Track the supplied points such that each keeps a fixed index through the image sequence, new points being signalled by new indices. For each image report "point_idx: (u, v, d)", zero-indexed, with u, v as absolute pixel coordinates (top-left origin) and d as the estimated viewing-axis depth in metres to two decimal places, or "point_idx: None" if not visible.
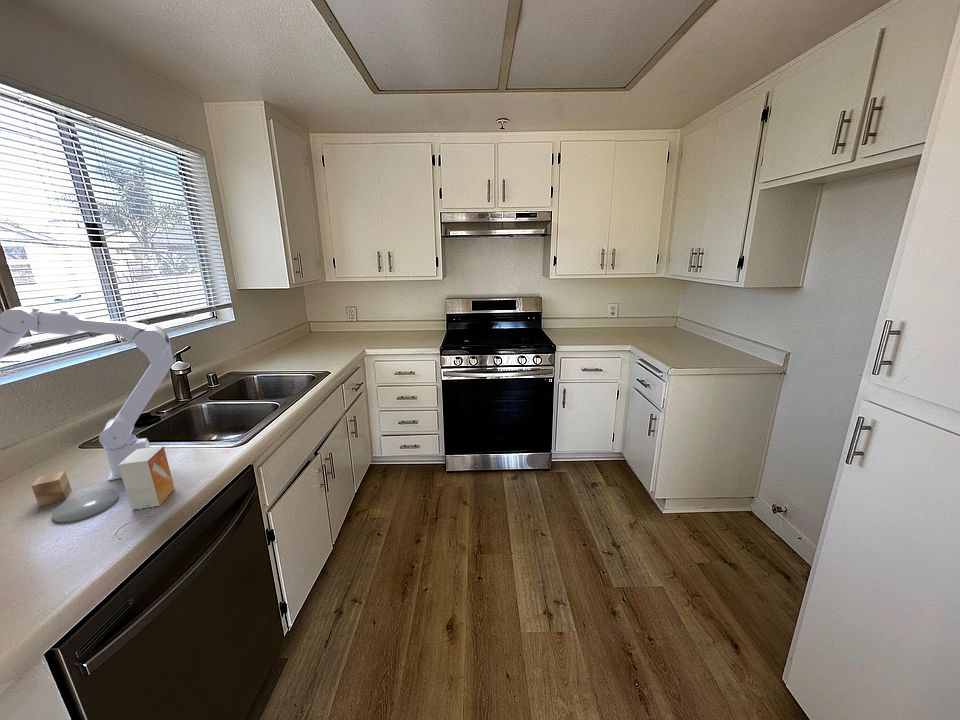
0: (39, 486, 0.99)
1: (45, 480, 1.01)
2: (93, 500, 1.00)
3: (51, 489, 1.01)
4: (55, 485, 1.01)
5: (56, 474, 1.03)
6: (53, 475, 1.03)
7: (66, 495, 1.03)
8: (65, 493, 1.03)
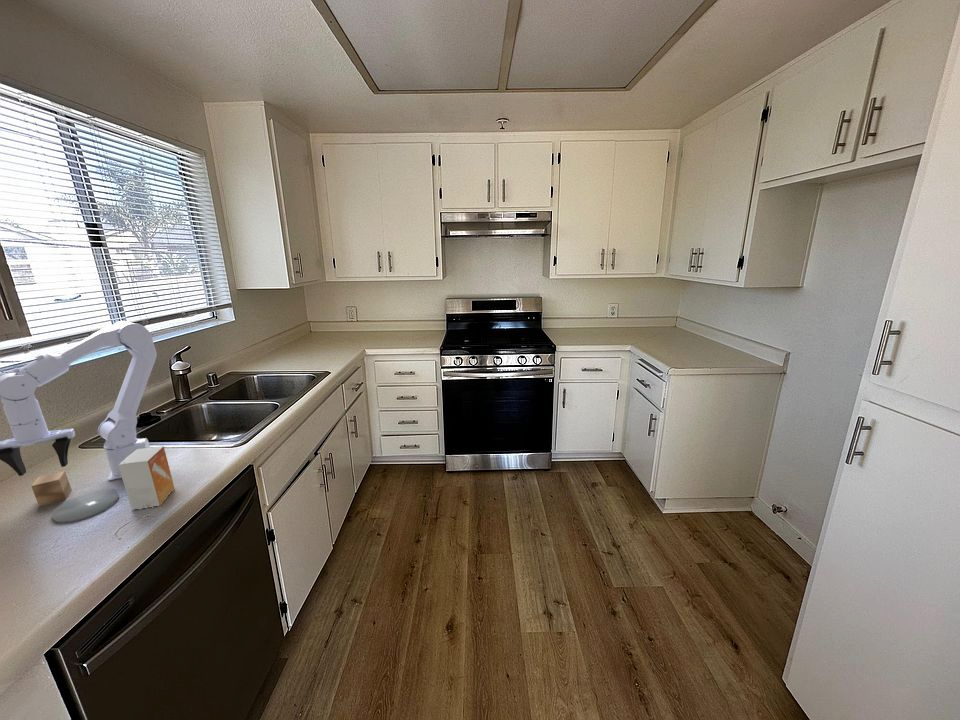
0: (38, 486, 0.99)
1: (45, 480, 1.01)
2: (93, 500, 1.00)
3: (51, 489, 1.01)
4: (55, 485, 1.01)
5: (56, 474, 1.03)
6: (53, 475, 1.03)
7: (66, 495, 1.03)
8: (65, 493, 1.03)
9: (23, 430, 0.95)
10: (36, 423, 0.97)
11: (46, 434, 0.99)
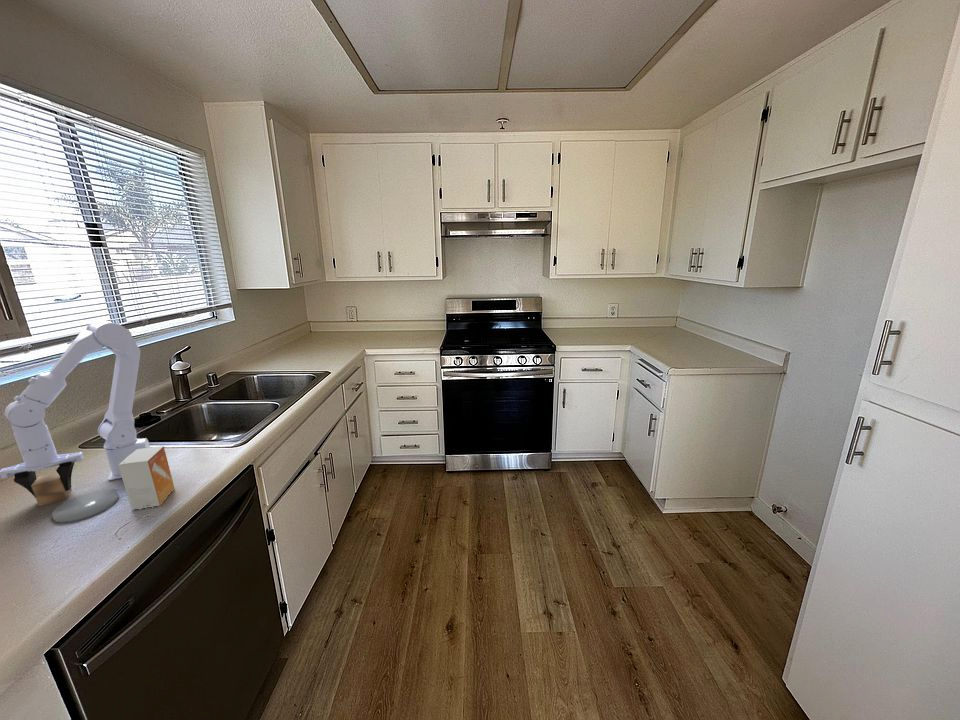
0: (38, 485, 0.99)
1: (45, 480, 1.01)
2: (93, 500, 1.00)
3: (51, 488, 1.01)
4: (55, 485, 1.01)
5: (56, 474, 1.03)
6: (53, 475, 1.03)
7: (66, 495, 1.03)
8: (65, 492, 1.03)
9: (33, 455, 0.97)
10: (46, 448, 0.99)
11: (55, 458, 1.01)
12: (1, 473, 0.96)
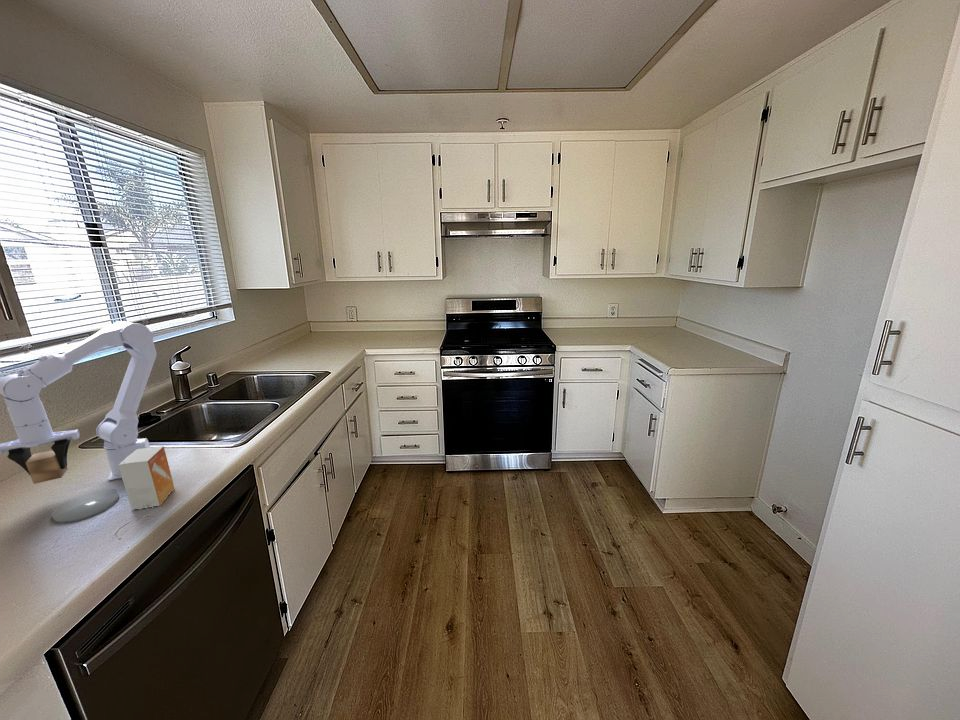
0: (33, 462, 0.97)
1: (40, 457, 0.98)
2: (93, 500, 1.00)
3: (46, 466, 0.98)
4: (50, 463, 0.99)
5: (51, 452, 1.01)
6: (48, 452, 1.01)
7: (61, 473, 1.01)
8: (60, 471, 1.01)
9: (27, 431, 0.95)
10: (40, 424, 0.97)
11: (51, 435, 0.99)
12: None
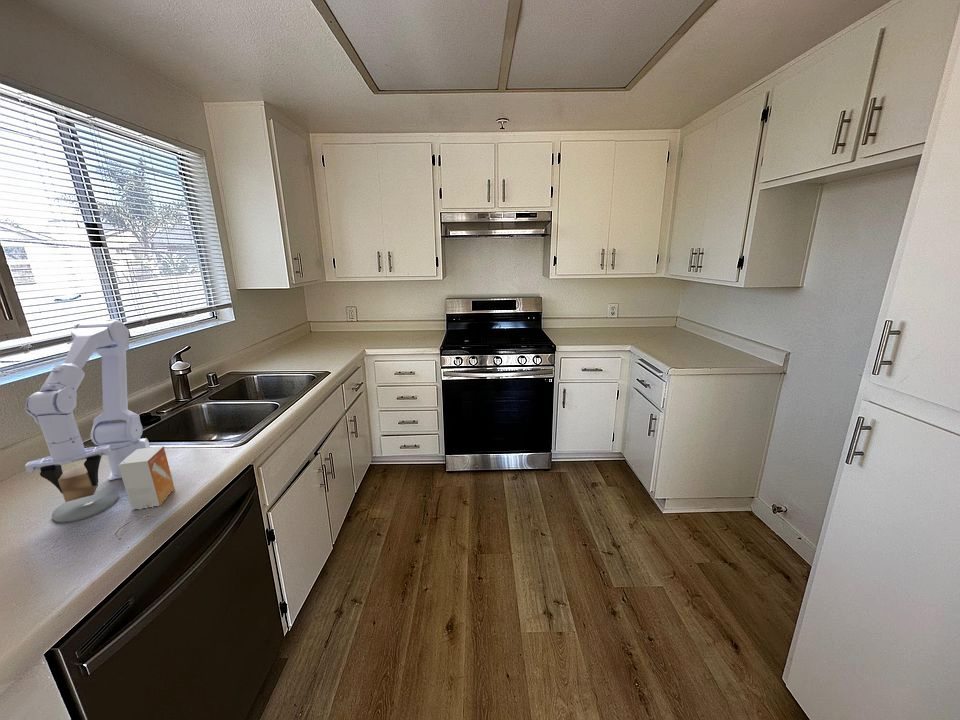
0: (65, 480, 0.94)
1: (72, 474, 0.96)
2: (93, 500, 1.00)
3: (78, 483, 0.96)
4: (82, 480, 0.96)
5: (82, 468, 0.98)
6: (79, 469, 0.98)
7: (93, 490, 0.98)
8: (92, 488, 0.98)
9: (60, 448, 0.92)
10: (73, 441, 0.94)
11: (83, 451, 0.96)
12: (27, 467, 0.91)
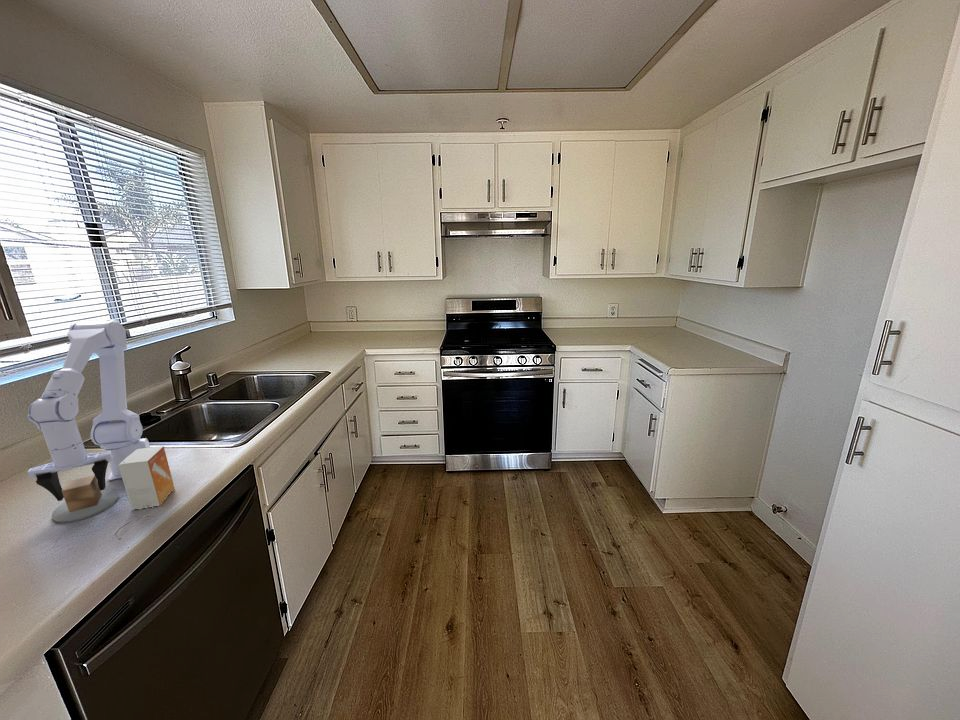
0: (69, 491, 0.95)
1: (75, 485, 0.96)
2: None
3: (82, 494, 0.96)
4: (86, 490, 0.97)
5: (86, 478, 0.99)
6: (83, 479, 0.99)
7: (96, 500, 0.99)
8: (96, 498, 0.99)
9: (63, 454, 0.93)
10: (75, 447, 0.94)
11: (85, 458, 0.97)
12: (29, 473, 0.92)
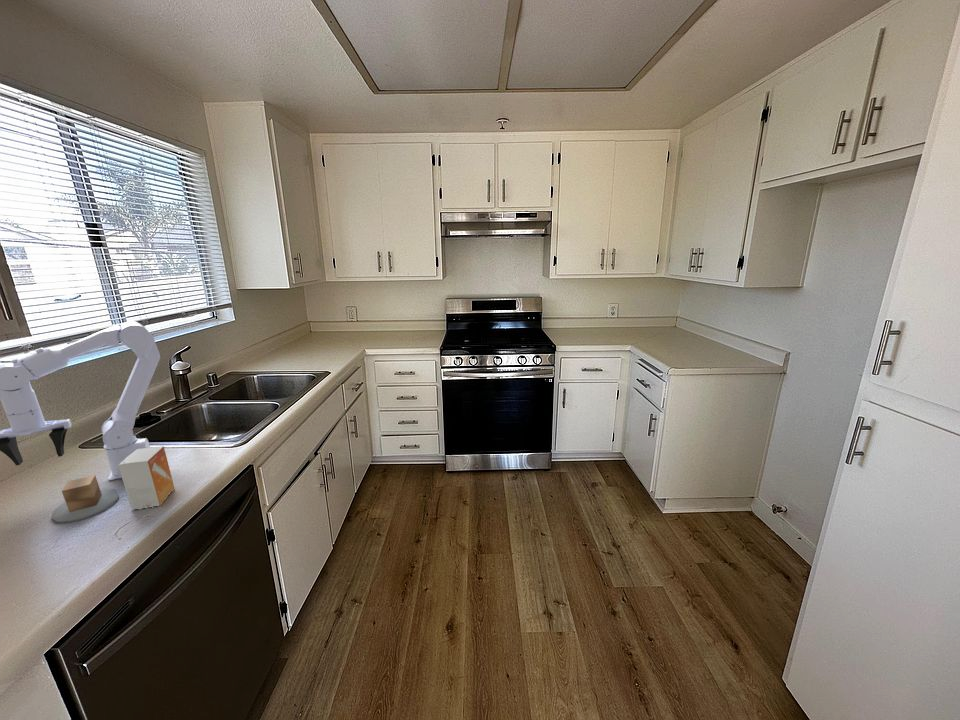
0: (69, 491, 0.95)
1: (75, 485, 0.96)
2: None
3: (82, 494, 0.96)
4: (86, 490, 0.97)
5: (86, 478, 0.99)
6: (83, 479, 0.99)
7: (96, 500, 0.99)
8: (96, 498, 0.99)
9: (20, 419, 0.97)
10: (33, 413, 0.98)
11: (43, 424, 1.00)
12: None
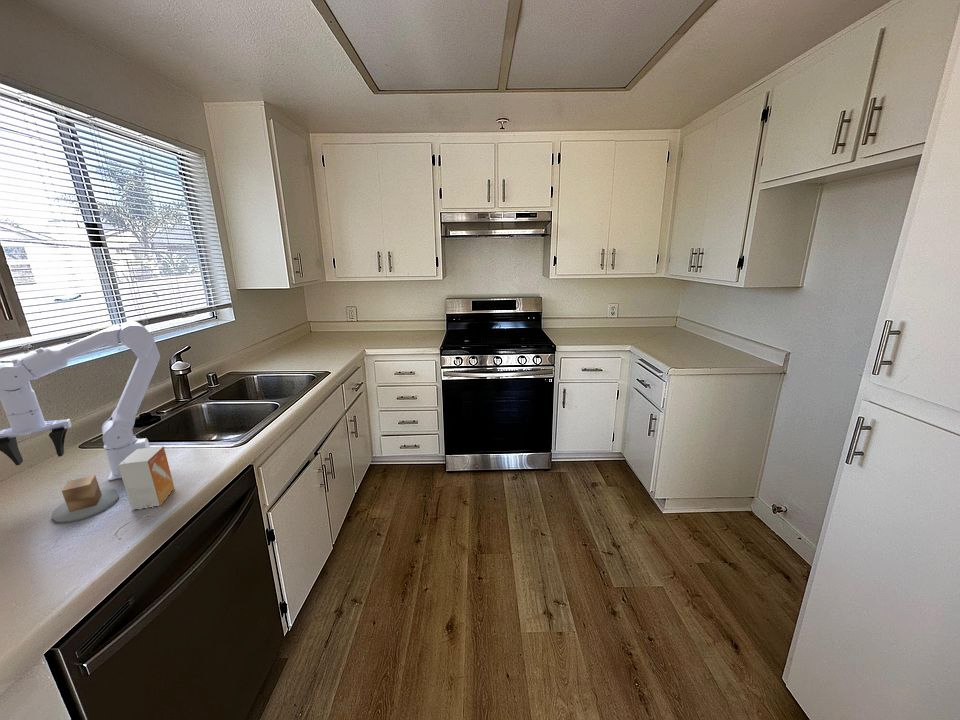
0: (69, 491, 0.95)
1: (75, 485, 0.96)
2: None
3: (82, 494, 0.96)
4: (86, 490, 0.97)
5: (86, 478, 0.99)
6: (83, 479, 0.99)
7: (96, 500, 0.99)
8: (96, 498, 0.99)
9: (20, 419, 0.97)
10: (33, 413, 0.98)
11: (43, 424, 1.00)
12: None
